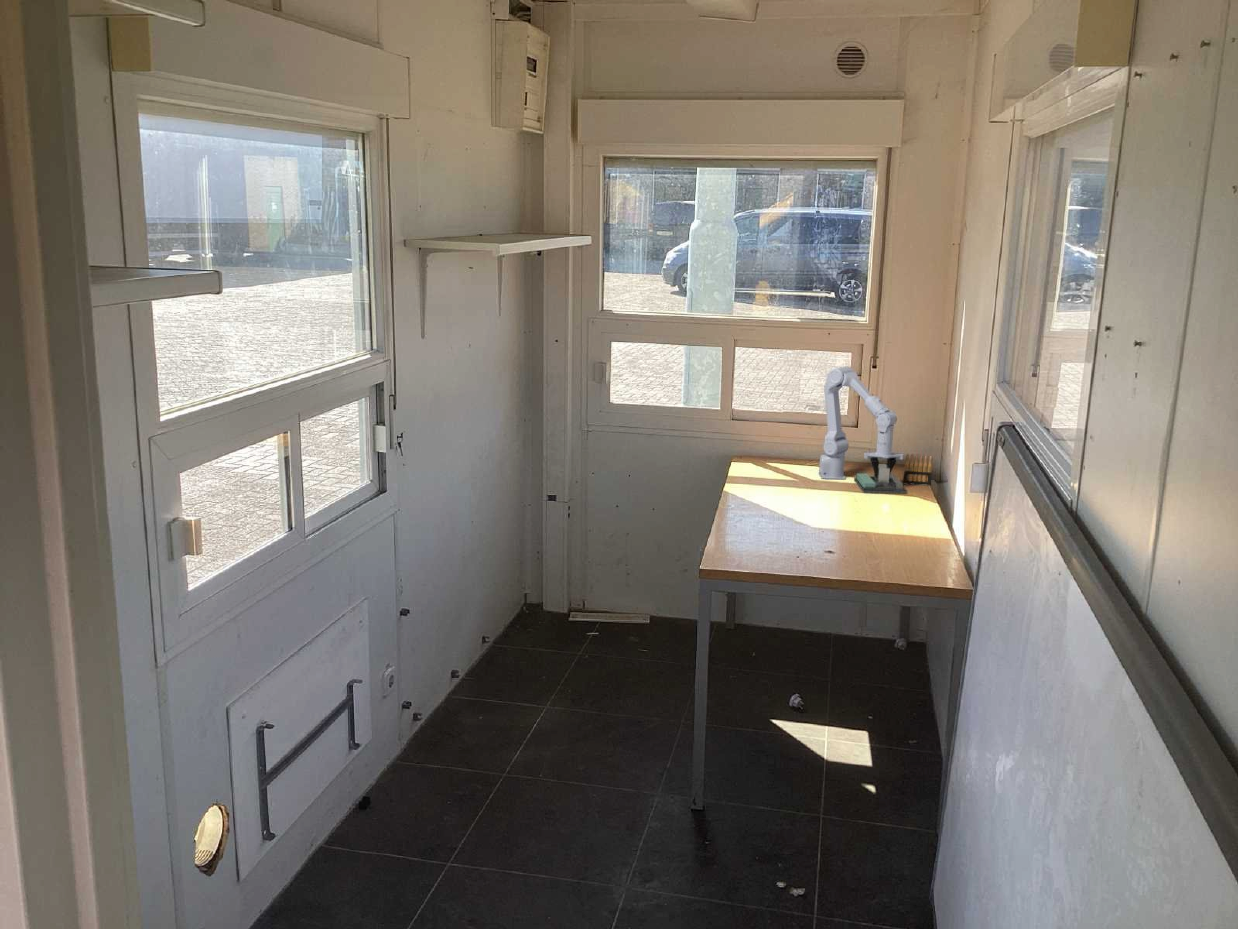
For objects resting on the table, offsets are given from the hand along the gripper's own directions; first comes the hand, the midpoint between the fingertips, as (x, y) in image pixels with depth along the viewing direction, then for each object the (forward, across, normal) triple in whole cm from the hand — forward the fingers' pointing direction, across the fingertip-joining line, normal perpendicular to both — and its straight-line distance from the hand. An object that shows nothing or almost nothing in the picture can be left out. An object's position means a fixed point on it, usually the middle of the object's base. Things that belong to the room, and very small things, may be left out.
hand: (881, 476), depth 417 cm
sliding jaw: (+3, -6, 0) cm, 7 cm away
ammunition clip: (+4, +16, +6) cm, 17 cm away
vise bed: (+4, 0, 0) cm, 4 cm away
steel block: (+2, 0, 0) cm, 2 cm away
